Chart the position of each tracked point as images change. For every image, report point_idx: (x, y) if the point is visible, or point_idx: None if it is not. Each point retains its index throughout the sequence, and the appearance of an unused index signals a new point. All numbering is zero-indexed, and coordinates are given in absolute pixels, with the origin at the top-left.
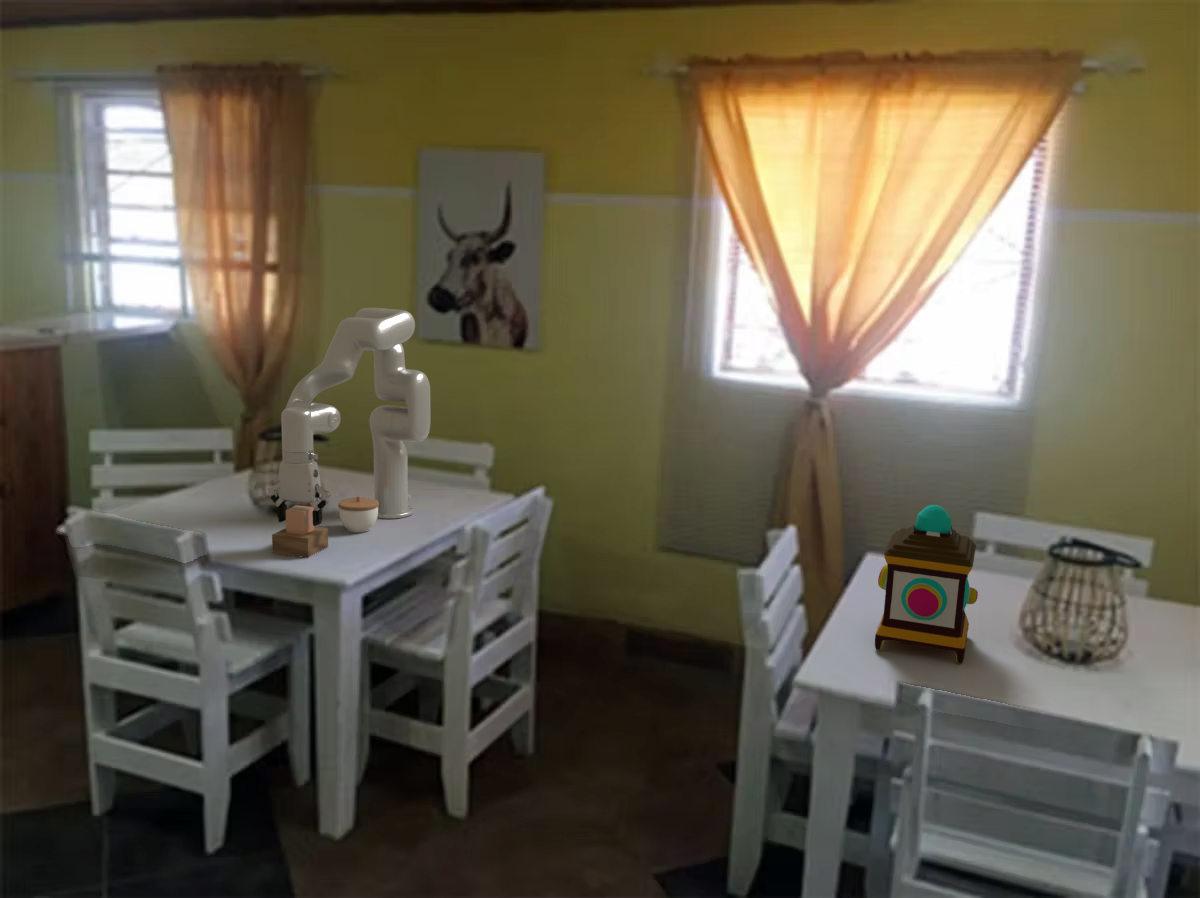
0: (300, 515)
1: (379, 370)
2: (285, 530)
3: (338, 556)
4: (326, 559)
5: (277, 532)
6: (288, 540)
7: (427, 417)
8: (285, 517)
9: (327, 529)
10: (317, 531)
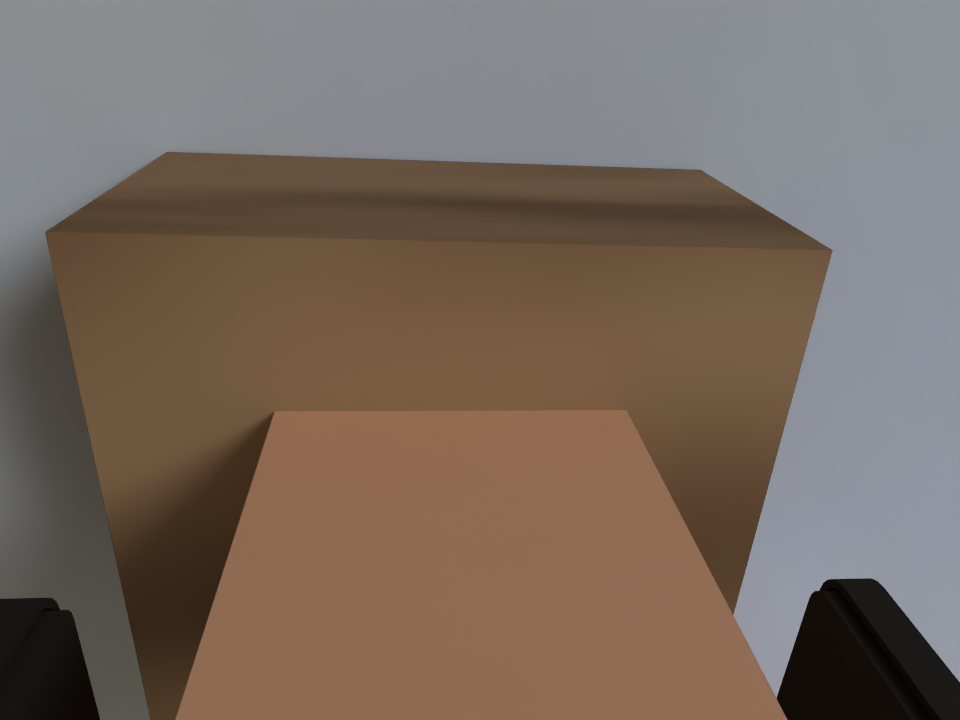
0: None
1: None
2: (200, 585)
3: (904, 442)
4: (809, 546)
5: (159, 688)
6: None
7: None
8: (59, 700)
9: (818, 257)
10: (715, 475)
